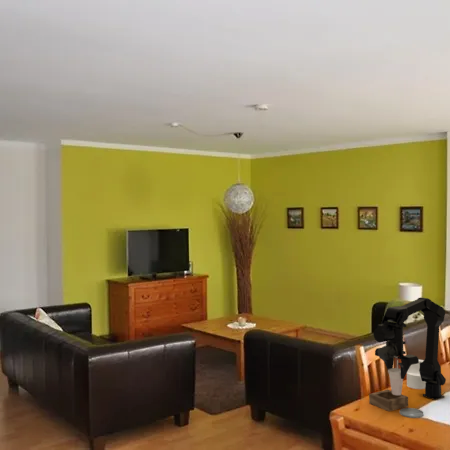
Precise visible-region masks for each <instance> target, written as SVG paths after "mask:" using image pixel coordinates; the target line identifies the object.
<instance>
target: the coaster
mask: <svg viewBox="0 0 450 450" xmlns="http://www.w3.org/2000/svg"><path fill="white" fill-rule="evenodd" d="M399 414H400V415H401V416H402V417H406V418H411V419H420V418H423V417H424V411H422V410H421V409H418V408H415V407H404V408H400V409H399Z"/></svg>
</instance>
